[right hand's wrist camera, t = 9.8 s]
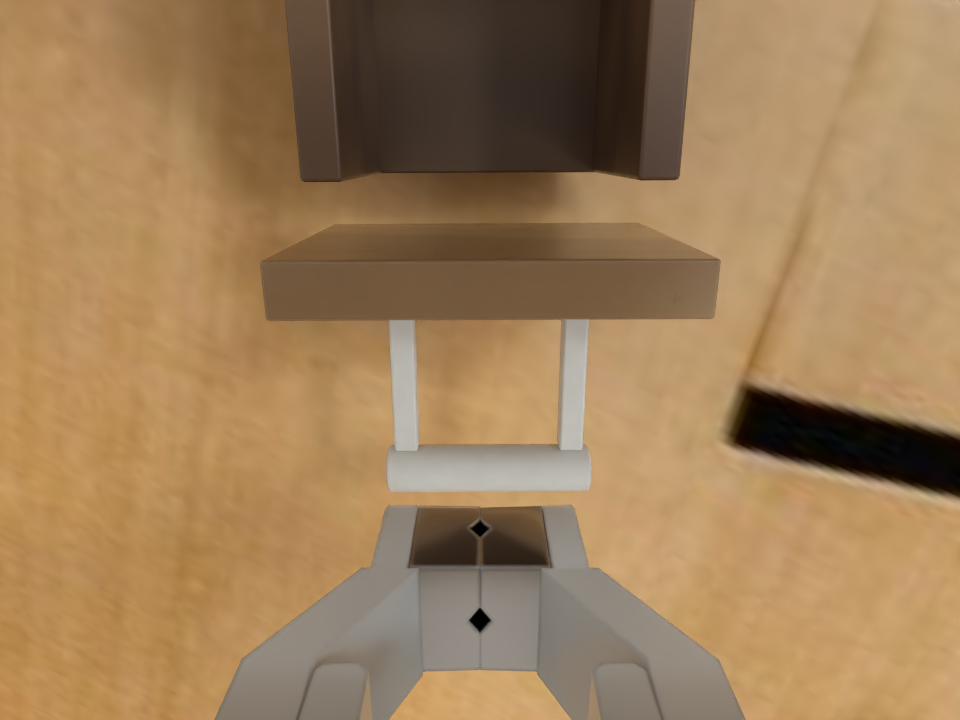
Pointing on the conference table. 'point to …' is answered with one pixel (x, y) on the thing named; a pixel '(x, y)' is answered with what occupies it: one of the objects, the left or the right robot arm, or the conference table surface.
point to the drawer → (489, 149)
